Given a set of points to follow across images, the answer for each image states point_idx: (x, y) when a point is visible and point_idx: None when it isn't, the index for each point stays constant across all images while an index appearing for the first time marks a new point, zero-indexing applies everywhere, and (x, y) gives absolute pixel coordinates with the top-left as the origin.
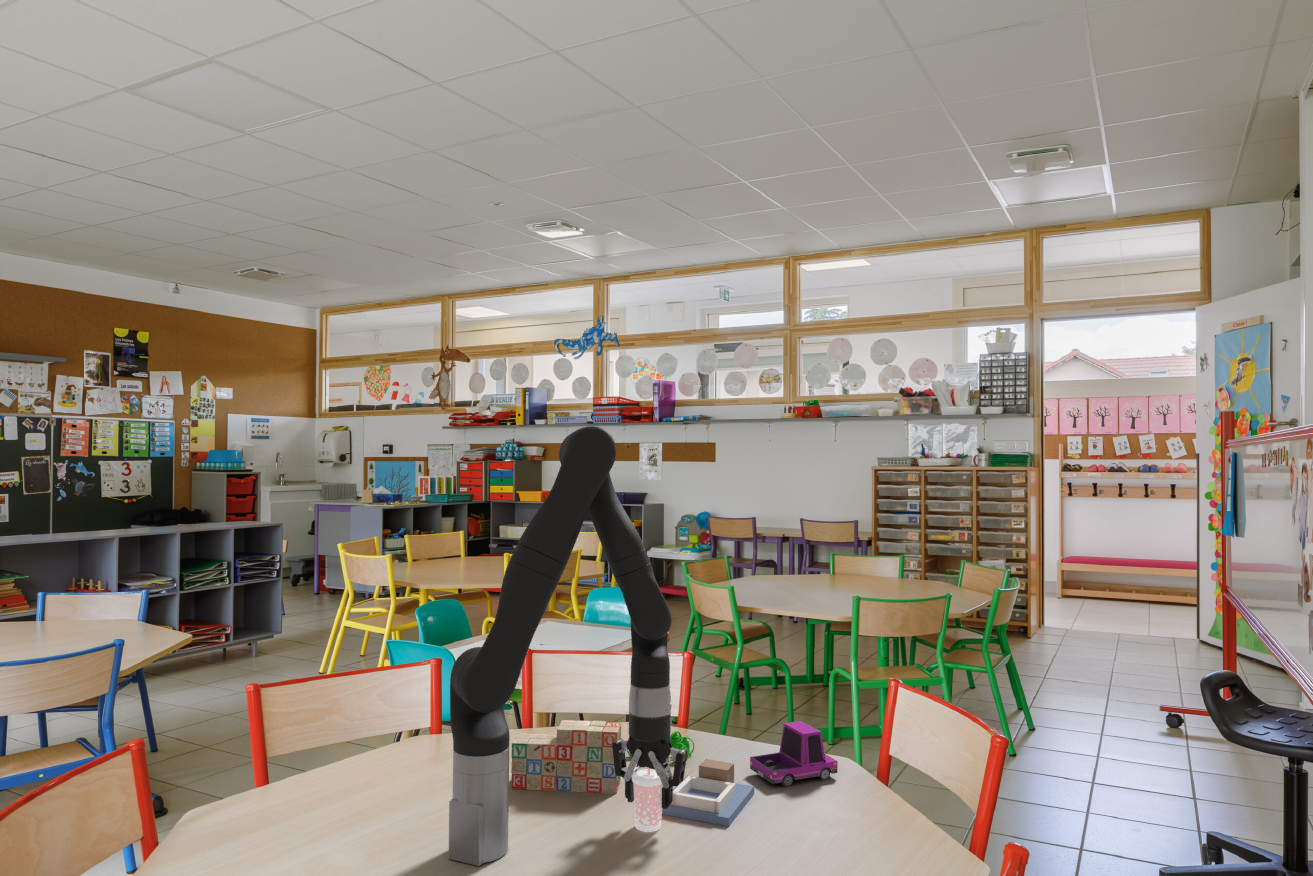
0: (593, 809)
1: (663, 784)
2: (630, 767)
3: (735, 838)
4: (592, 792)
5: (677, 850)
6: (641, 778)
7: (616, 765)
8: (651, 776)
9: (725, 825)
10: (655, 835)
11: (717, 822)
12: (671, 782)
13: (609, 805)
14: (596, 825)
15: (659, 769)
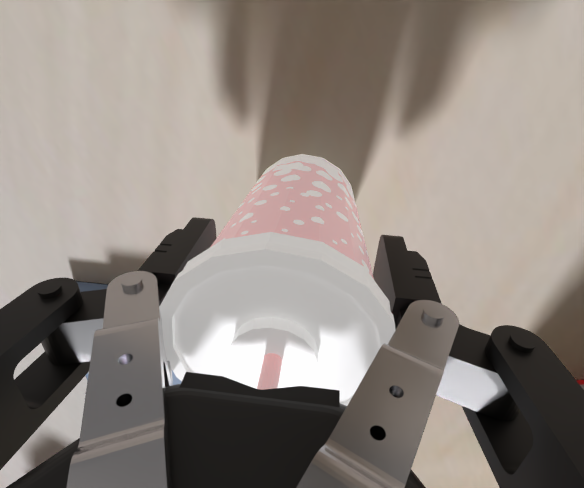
0: (557, 277)
1: (149, 286)
2: (415, 371)
3: (9, 217)
4: (577, 381)
5: (113, 48)
6: (308, 305)
7: (565, 395)
8: (240, 335)
9: (82, 283)
10: (252, 148)
11: (105, 288)
12: (97, 306)
13: (496, 317)
14: (524, 152)
15: (113, 358)
